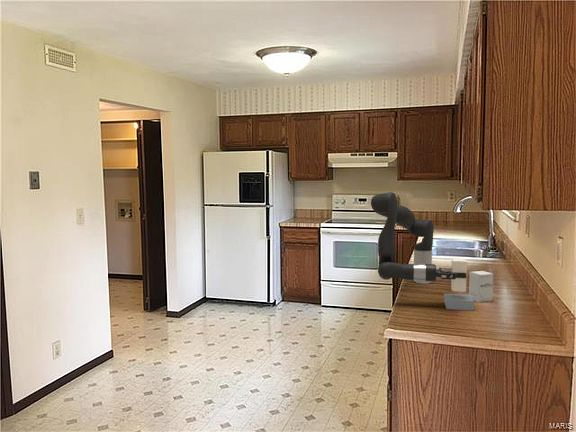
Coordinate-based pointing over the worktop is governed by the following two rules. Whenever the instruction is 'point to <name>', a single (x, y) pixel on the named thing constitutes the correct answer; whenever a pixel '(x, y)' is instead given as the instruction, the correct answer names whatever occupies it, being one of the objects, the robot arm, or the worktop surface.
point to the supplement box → (481, 286)
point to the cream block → (459, 267)
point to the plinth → (458, 302)
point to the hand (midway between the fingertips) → (465, 274)
